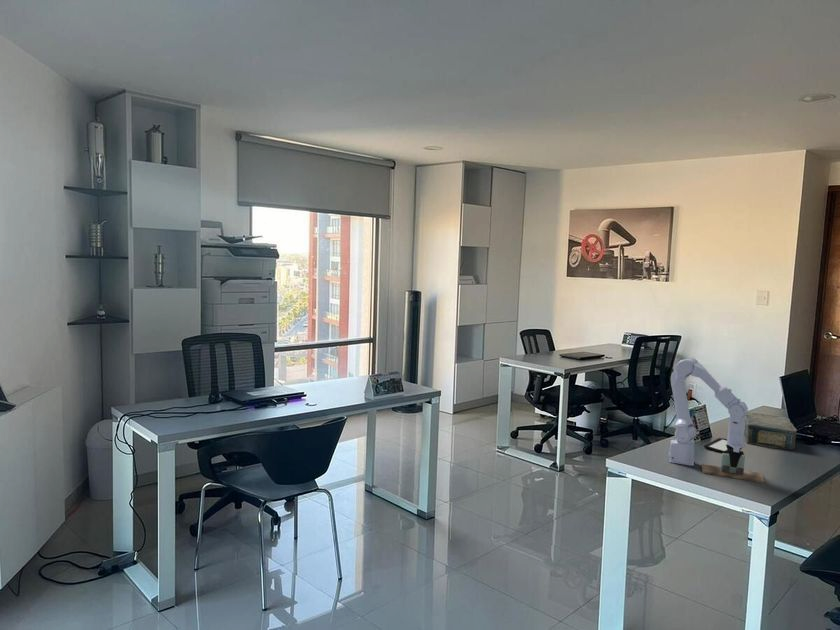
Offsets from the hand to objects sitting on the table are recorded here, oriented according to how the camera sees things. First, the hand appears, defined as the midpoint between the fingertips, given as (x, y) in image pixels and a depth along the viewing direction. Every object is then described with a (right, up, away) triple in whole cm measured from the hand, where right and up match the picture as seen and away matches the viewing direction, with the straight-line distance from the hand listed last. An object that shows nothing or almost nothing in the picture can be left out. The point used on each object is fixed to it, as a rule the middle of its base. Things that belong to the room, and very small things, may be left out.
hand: (732, 465), depth 243 cm
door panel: (0, -3, 0) cm, 3 cm away
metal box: (+47, -2, +58) cm, 74 cm away
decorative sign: (+17, -2, +37) cm, 41 cm away
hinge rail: (0, -4, 0) cm, 4 cm away
